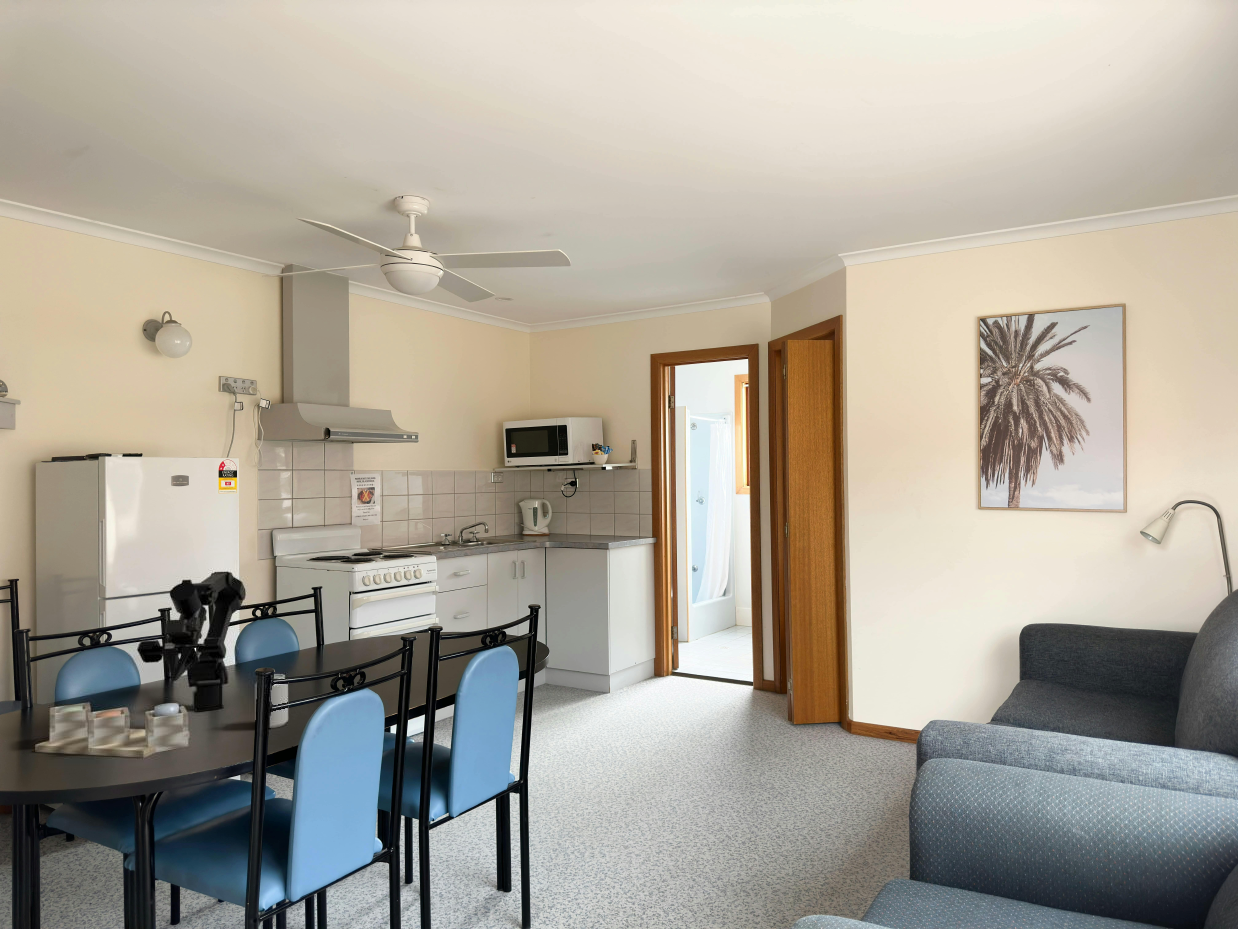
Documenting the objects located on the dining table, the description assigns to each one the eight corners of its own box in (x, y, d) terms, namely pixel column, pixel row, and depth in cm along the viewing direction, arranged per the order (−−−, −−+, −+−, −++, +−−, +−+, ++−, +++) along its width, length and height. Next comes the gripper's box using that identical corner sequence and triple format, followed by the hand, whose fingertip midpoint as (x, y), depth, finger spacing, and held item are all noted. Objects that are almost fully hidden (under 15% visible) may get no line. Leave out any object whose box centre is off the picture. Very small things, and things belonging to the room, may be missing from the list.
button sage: (82, 717, 194) (82, 704, 194) (82, 722, 190) (82, 709, 190) (57, 721, 191) (57, 708, 191) (57, 725, 187) (57, 712, 187)
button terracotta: (120, 722, 188) (120, 709, 189) (121, 727, 185) (121, 714, 185) (95, 726, 186) (95, 713, 186) (96, 731, 182) (96, 717, 182)
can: (275, 730, 196) (275, 680, 196) (248, 729, 197) (247, 679, 197) (294, 721, 203) (294, 673, 203) (267, 720, 204) (267, 672, 205)
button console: (72, 732, 197) (72, 701, 197) (206, 738, 190) (206, 706, 190) (18, 751, 183) (18, 717, 183) (160, 758, 176) (160, 723, 176)
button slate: (177, 715, 189) (177, 702, 189) (179, 719, 185) (179, 706, 185) (153, 718, 186) (153, 705, 186) (155, 723, 182) (155, 710, 182)
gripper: (140, 607, 197) (120, 663, 186) (222, 604, 200) (207, 658, 189) (153, 634, 205) (134, 689, 194) (232, 631, 208) (218, 684, 197)
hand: (173, 680), depth 193 cm, fingers closed
